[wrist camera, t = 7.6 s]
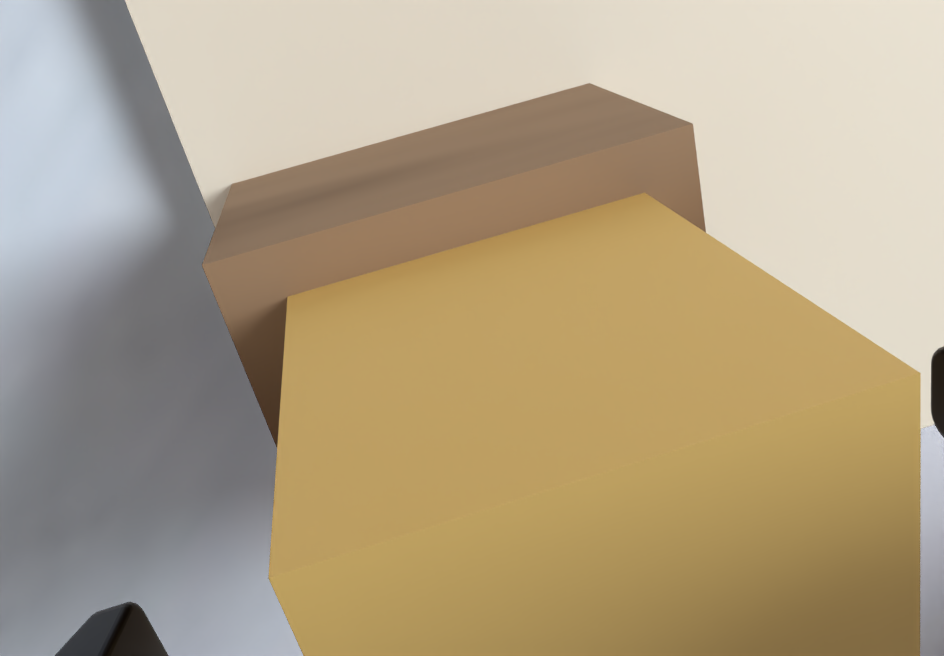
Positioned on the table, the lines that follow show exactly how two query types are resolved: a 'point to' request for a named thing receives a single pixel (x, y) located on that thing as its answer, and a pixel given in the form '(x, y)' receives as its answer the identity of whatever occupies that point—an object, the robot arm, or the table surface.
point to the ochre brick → (592, 456)
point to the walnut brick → (432, 204)
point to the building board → (630, 75)
